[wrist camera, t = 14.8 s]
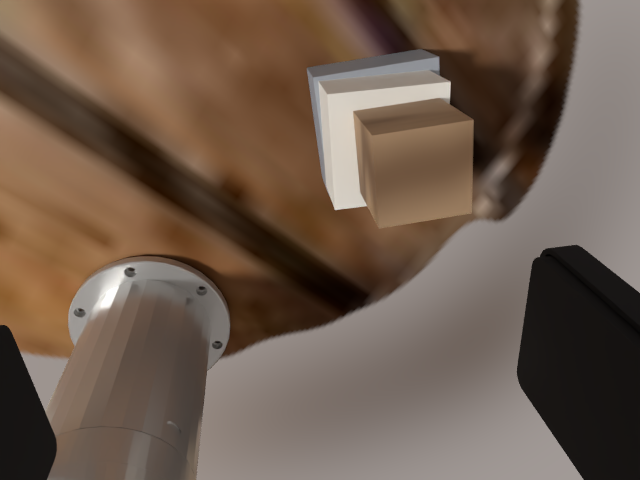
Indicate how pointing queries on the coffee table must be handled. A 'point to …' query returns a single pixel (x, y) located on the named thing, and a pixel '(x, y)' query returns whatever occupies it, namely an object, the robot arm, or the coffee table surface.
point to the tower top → (339, 121)
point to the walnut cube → (414, 161)
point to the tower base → (360, 68)
